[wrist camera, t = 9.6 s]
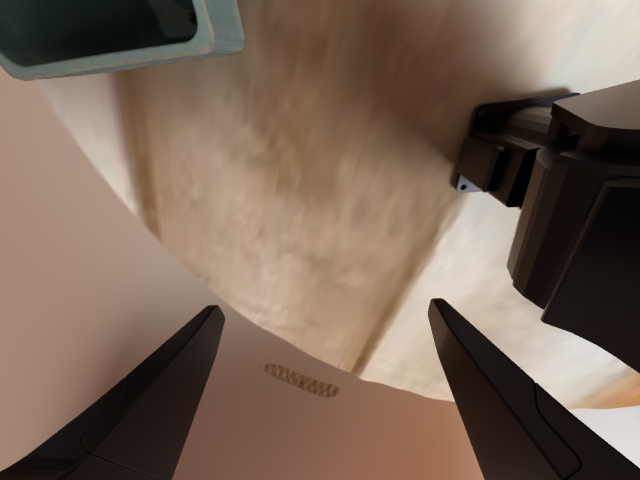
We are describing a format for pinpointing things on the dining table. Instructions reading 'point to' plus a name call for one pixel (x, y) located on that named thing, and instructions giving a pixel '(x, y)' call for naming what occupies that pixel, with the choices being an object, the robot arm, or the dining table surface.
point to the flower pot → (112, 35)
